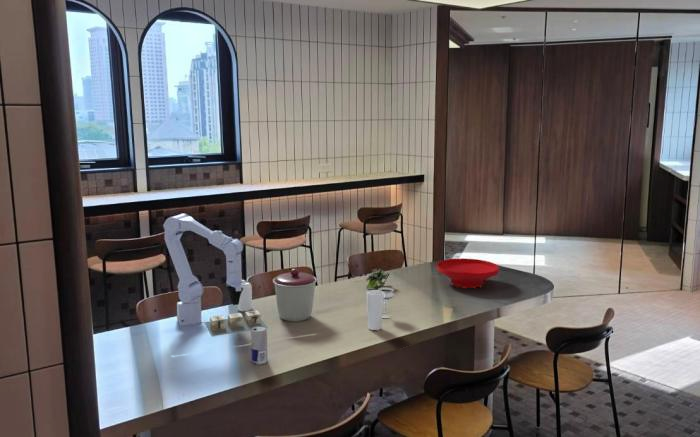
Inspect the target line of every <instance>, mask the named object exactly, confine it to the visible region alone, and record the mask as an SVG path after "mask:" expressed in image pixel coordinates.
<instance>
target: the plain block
mask: <svg viewBox="0 0 700 437" xmlns="http://www.w3.org/2000/svg"><path fill="white" fill-rule="evenodd" d="M243 317H244V316H243V314H242V313H241V312H237V313H235V312H234V313H228V314H227V319H228V324H229V326H230V328H235V327H242V326H243Z"/></svg>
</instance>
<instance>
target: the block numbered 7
mask: <svg viewBox="0 0 700 437" xmlns="http://www.w3.org/2000/svg"><path fill="white" fill-rule="evenodd" d="M244 317H245V322H246V323H247V324H248V326H249V325H256V324H261V320H262V319H261V313H260V312H259V310H249V311H244ZM260 319H261V320H260Z"/></svg>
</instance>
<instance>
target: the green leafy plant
mask: <svg viewBox="0 0 700 437" xmlns="http://www.w3.org/2000/svg"><path fill="white" fill-rule="evenodd" d="M371 271H372V272H371V273H370V274H368V276H367V278H365V282H366V283H367V285H366V289H367V290H368V289H371V288H372V289H373V288H375V287H377V286H378V285H380V287H381V288H382V287H385V283H386V281H387V279H388V278H389V276H390V272H389V271H387V272H386V271H385V270H382V268H374V269H371ZM383 280H384V281H383Z"/></svg>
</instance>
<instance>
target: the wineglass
mask: <svg viewBox="0 0 700 437" xmlns="http://www.w3.org/2000/svg"><path fill="white" fill-rule="evenodd" d="M377 290H380V291H382V292H383V293H384V314H382V318H390V316H391V315H389V314H387V303H388V302H390V301H391V300H393V298H394V295H395V293H394V291H395V289H393V288H392V287H386V286H384V287H382V286H381V287H378V288H377ZM388 315H389V316H388ZM390 319H391V318H390Z"/></svg>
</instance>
